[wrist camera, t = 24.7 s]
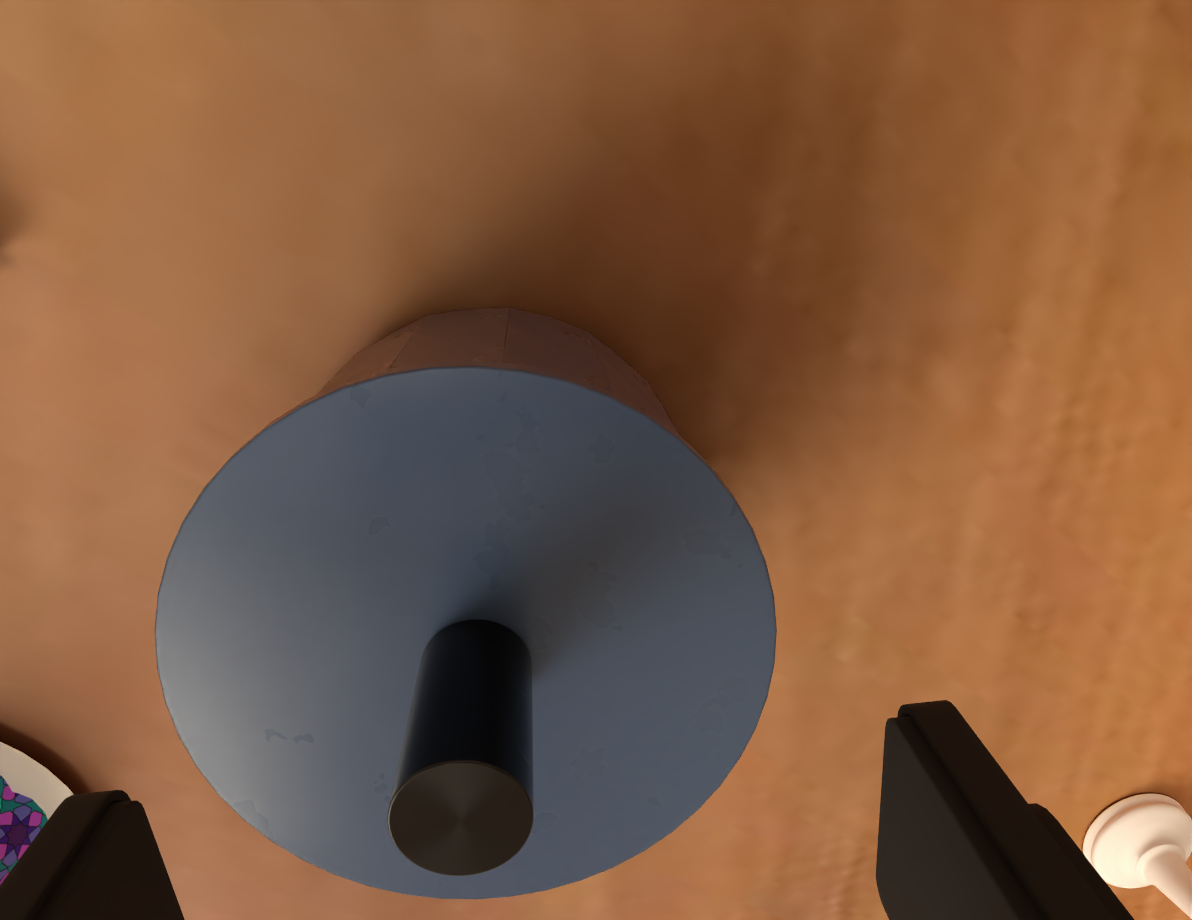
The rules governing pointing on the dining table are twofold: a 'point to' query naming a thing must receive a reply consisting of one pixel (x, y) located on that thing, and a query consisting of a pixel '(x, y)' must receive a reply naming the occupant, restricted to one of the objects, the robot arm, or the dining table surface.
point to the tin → (505, 351)
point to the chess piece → (1144, 846)
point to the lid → (465, 630)
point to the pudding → (24, 803)
